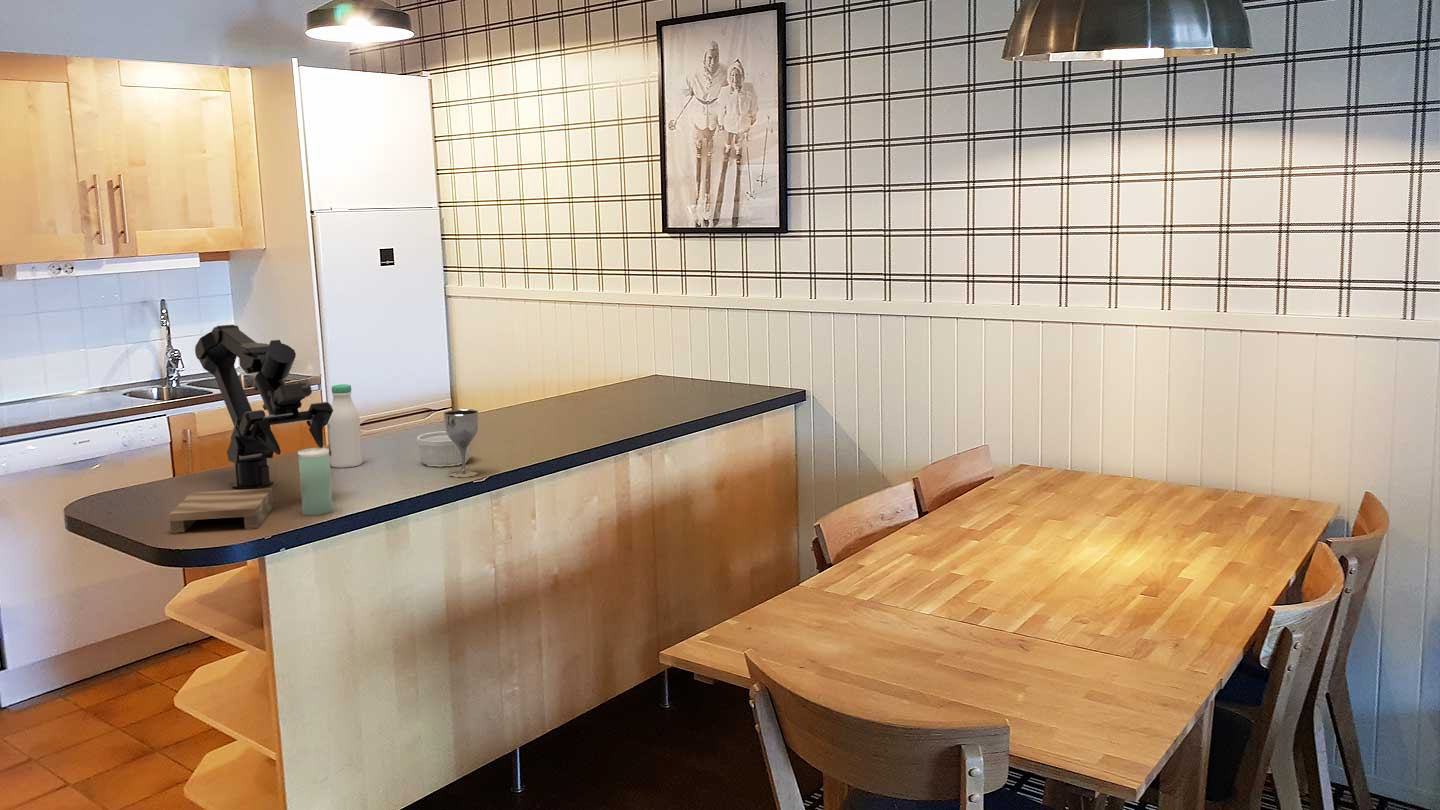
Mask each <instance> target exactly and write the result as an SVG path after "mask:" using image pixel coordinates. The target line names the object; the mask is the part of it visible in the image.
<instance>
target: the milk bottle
mask: <svg viewBox="0 0 1440 810" xmlns="http://www.w3.org/2000/svg"><path fill="white" fill-rule="evenodd" d="M331 395H332V402H331V406H332V409H333V412H332V414H331V417H330V419H329V421H328V424H327V439H328V441H327V443H328V449H329V463H330V467H332V468H337V469H338V468H341V469H342V468H344V469H345V468H353V467H358V466H361V465H362V463H363V447H362V432H361V431H362V430H361V421H360V415H359V413H358V410H357V408H356V406H355V404H354V401H353V400H352V397H351V396H352V385H351V384H335V385H332V386H331Z"/></svg>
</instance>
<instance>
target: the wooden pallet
mask: <svg viewBox="0 0 1440 810" xmlns="http://www.w3.org/2000/svg"><path fill="white" fill-rule="evenodd" d="M273 496H274V495H273V488H272V487H268V488H266V487H264V488H258V489H231V490H213V491H198V492H197V491H196V492H195V491H193V492H191V493H190V494H188V495H187V496H186V497H185V498H184V499H183V500H182V501H181V502H180V503H179V504H178V505H176V507H174V508H173V509H172V510H171V512H169V524H170V534H171V533H173V534H179V533H178V532H185V531H186V530H187V531H188V529H190V528H191V526H192V525H193V524H194V523H195V522H196V521H197V520H210V519H211V520H212V519H230V518H243V522H244V523H243V524H244V530H250V529H251V530H252V529H259V528H260V526H261V524H262V523H263V522H264V520H265V519H266V518H267V516H268V514H269V513H270V512H271V511H272V509H273V508H274V497H273ZM195 520H196V521H195ZM194 521H195V522H194ZM193 522H194V523H193ZM190 525H191V526H190ZM187 531H186V532H187ZM186 532H185V533H186Z"/></svg>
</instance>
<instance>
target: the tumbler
mask: <svg viewBox="0 0 1440 810" xmlns="http://www.w3.org/2000/svg"><path fill="white" fill-rule="evenodd" d="M297 456H298V457H297V458H298V470H299V485H300V496H301V497H300V499H301V508H302V509H301V511H302V515H303V516H304V515H305V516H321V515H322V514H323V515H327V514H330V513H332V512H333V511H334V507H333V495H332V481H331V480H332V479H331V465H330V457H329V448H327V447H322V448H320V447H310V448H304V449H300V450H298V451H297ZM323 515H322V516H323Z"/></svg>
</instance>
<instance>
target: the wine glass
mask: <svg viewBox="0 0 1440 810" xmlns="http://www.w3.org/2000/svg"><path fill="white" fill-rule="evenodd" d="M443 420H444V421H443V422H444V428H445V430H446V432H447V435H448V437H449V438H450V439H451V440H452V441H453V442H454V443H455V444H456V446H457V447H458V448H459V450H460V453H461V459H462V465H461V469H459V470H458V472H457V471H454V472H455V473H456V474H466V473H469V472H471V471H472V470H469V469H467V468H466V463H465V455H466V449H467V447H468V445H469V444H470V443H472V441H473V440H474V439H475V437H476V435H477V433H478V429H479V411H478V410H477V409H467V408H466V409H463V408H462V409H461V408H460V409H452V410H446V411H444V412H443Z"/></svg>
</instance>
